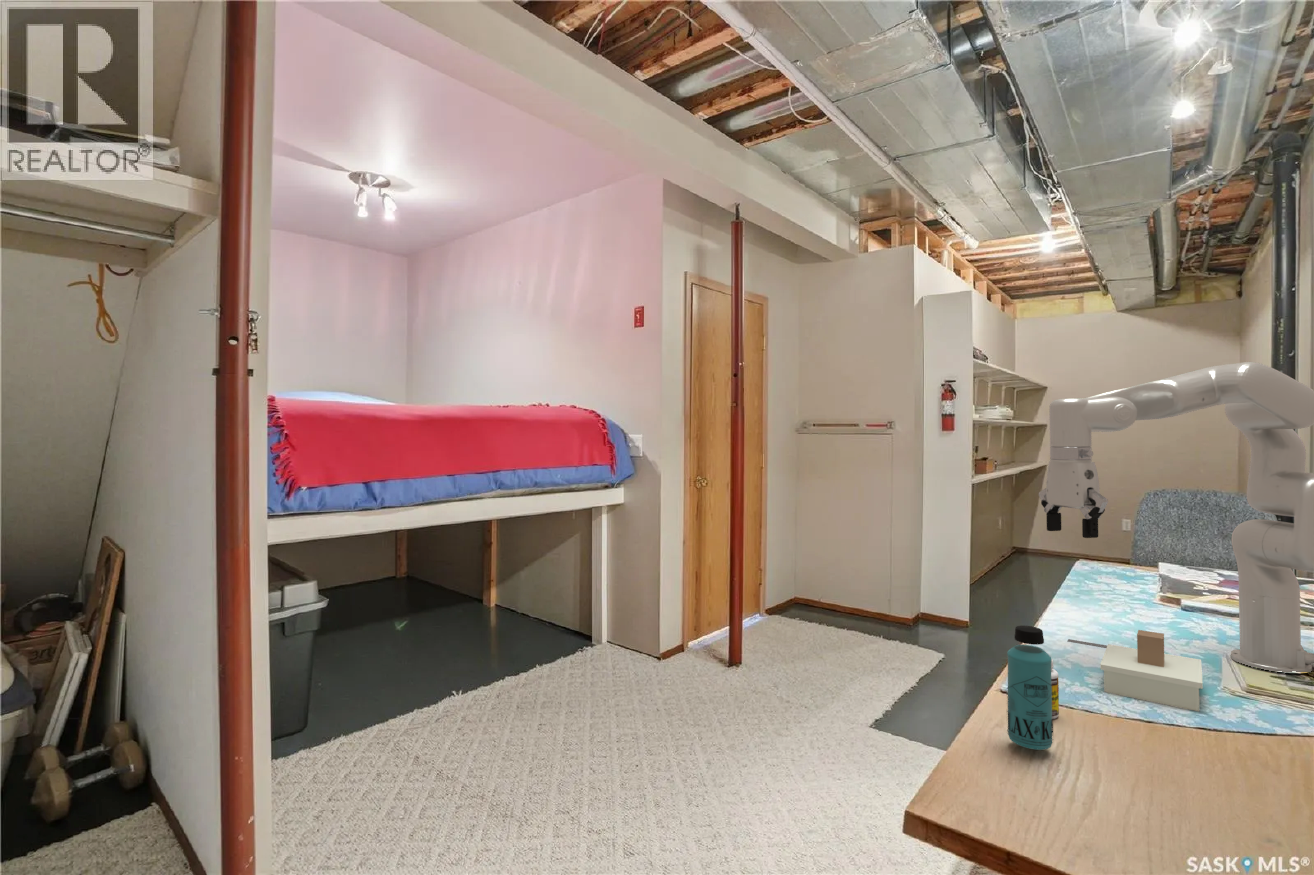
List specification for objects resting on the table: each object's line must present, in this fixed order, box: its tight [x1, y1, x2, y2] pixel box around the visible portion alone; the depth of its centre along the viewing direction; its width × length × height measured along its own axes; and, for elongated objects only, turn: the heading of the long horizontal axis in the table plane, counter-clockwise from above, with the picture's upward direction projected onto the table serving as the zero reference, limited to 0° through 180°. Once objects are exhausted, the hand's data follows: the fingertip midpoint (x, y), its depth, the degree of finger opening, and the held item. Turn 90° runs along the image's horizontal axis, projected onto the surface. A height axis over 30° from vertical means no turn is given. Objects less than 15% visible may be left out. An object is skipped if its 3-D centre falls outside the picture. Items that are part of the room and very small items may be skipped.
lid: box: [1099, 629, 1204, 690], centre depth 121 cm, size 15×15×6 cm
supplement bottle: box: [1051, 659, 1060, 720], centre depth 113 cm, size 6×6×10 cm
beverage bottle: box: [1006, 625, 1054, 751], centre depth 100 cm, size 6×7×20 cm
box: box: [1103, 670, 1200, 713], centre depth 121 cm, size 14×14×5 cm
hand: (1071, 534), depth 133 cm, fingers open, 9 cm apart
